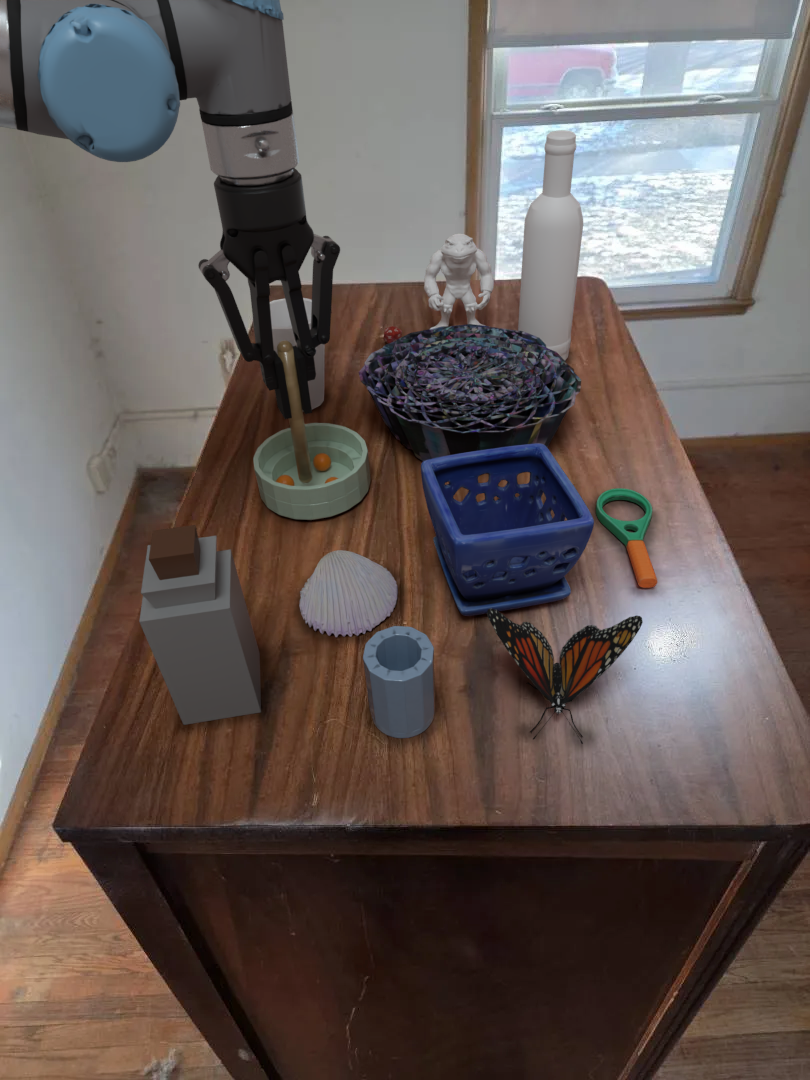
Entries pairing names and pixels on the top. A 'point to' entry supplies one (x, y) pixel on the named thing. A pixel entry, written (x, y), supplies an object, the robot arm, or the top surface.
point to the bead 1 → (285, 480)
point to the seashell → (347, 594)
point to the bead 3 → (331, 479)
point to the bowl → (313, 472)
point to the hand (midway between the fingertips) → (294, 409)
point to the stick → (295, 412)
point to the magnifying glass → (630, 540)
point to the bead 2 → (322, 462)
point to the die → (392, 334)
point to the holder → (400, 681)
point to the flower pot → (505, 527)
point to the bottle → (552, 250)
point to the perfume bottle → (199, 626)
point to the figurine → (458, 278)
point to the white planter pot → (285, 332)
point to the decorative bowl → (469, 389)
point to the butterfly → (564, 656)
